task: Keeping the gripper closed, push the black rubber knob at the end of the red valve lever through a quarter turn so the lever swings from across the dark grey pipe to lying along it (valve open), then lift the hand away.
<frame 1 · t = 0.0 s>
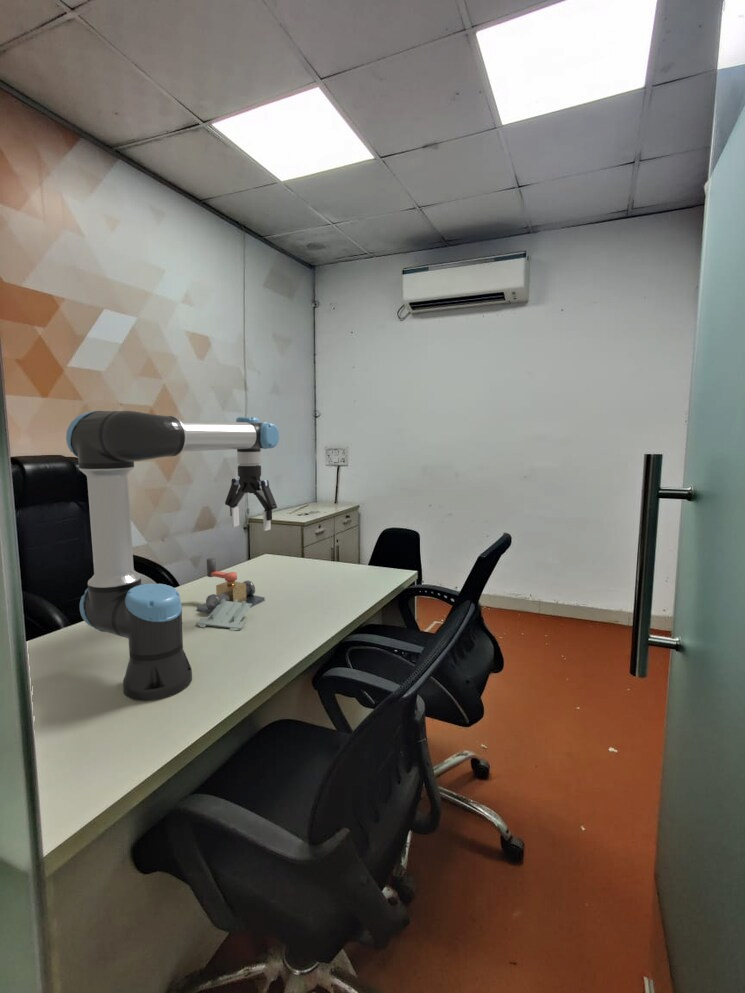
hand: (251, 528, 161), 28 cm above the table, fingers open, 13 cm apart
lever: (221, 569, 168), point 12 cm above the table, hinge at 0.0°
metal bracket: (228, 620, 155), on the table, touching valve
valve: (231, 605, 168), on the table
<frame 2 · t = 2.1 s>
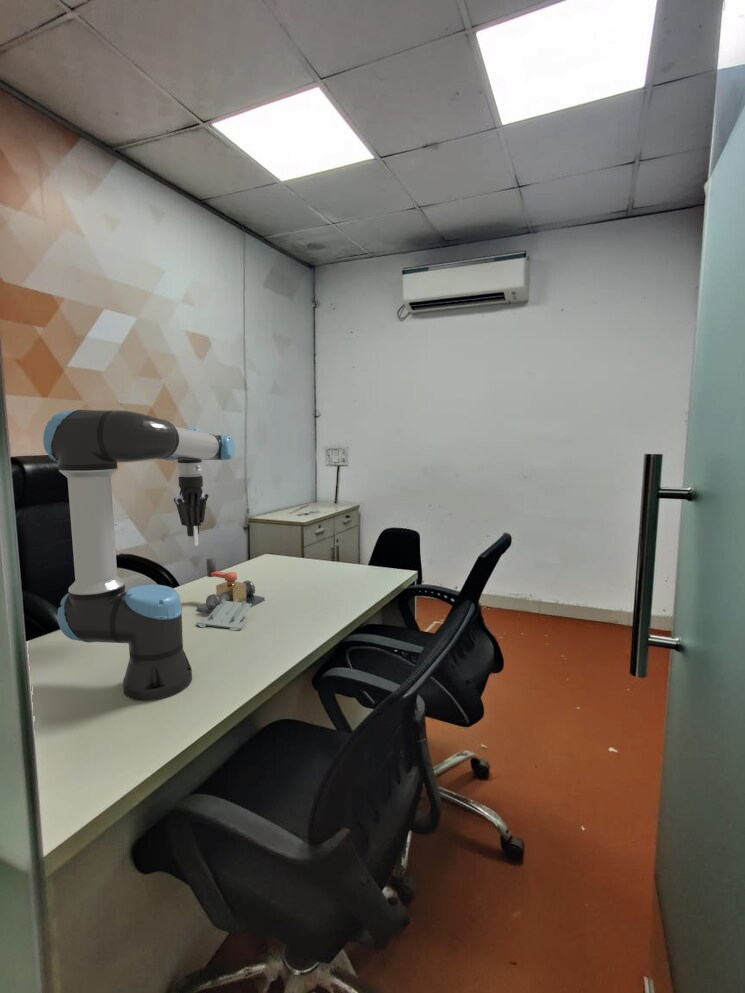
hand: (193, 544, 163), 22 cm above the table, fingers closed
nothing on the table moved.
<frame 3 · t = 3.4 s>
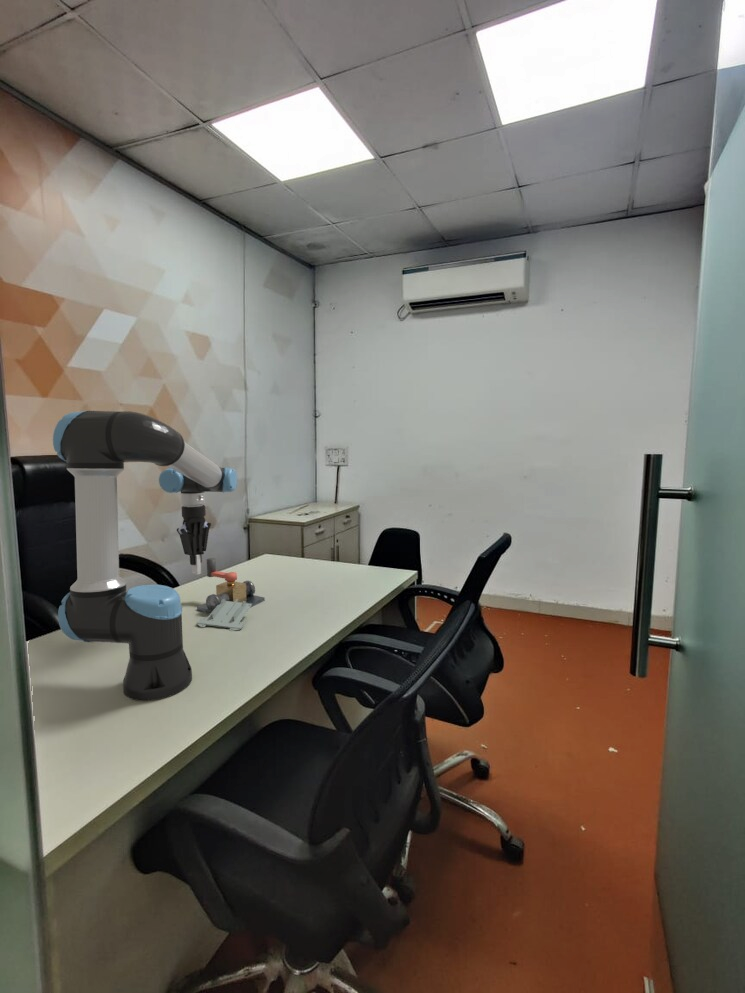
hand: (196, 573, 164), 12 cm above the table, fingers closed
nothing on the table moved.
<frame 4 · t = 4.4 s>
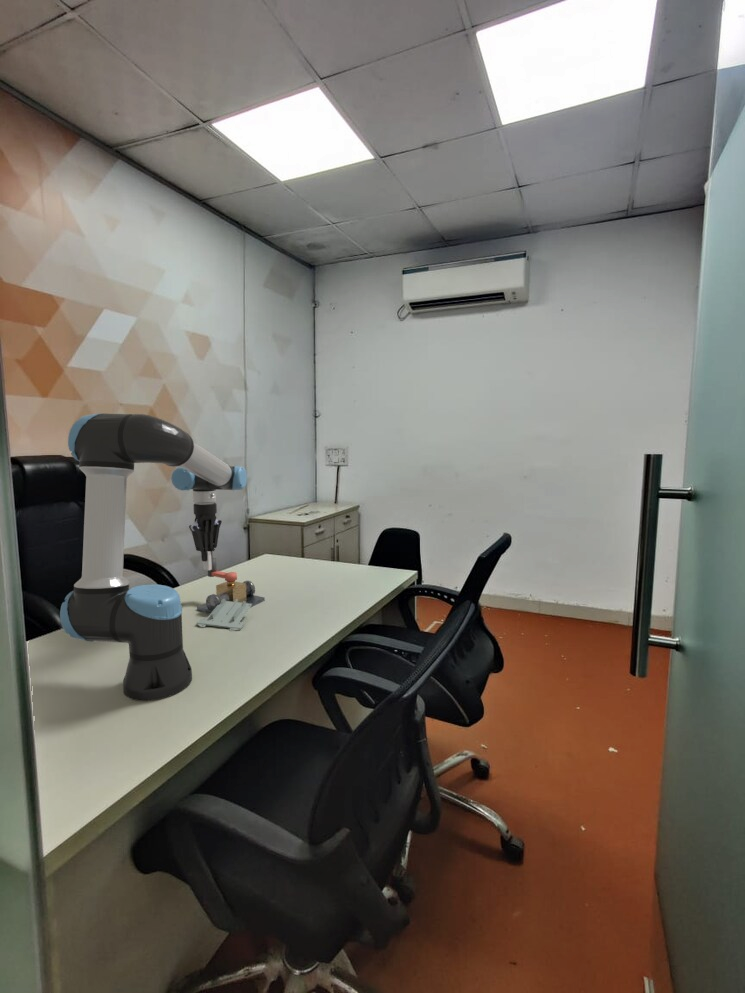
hand: (207, 569, 169), 12 cm above the table, fingers closed
lever: (221, 569, 168), point 12 cm above the table, hinge at 1.9°, touching gripper
everything else where it was.
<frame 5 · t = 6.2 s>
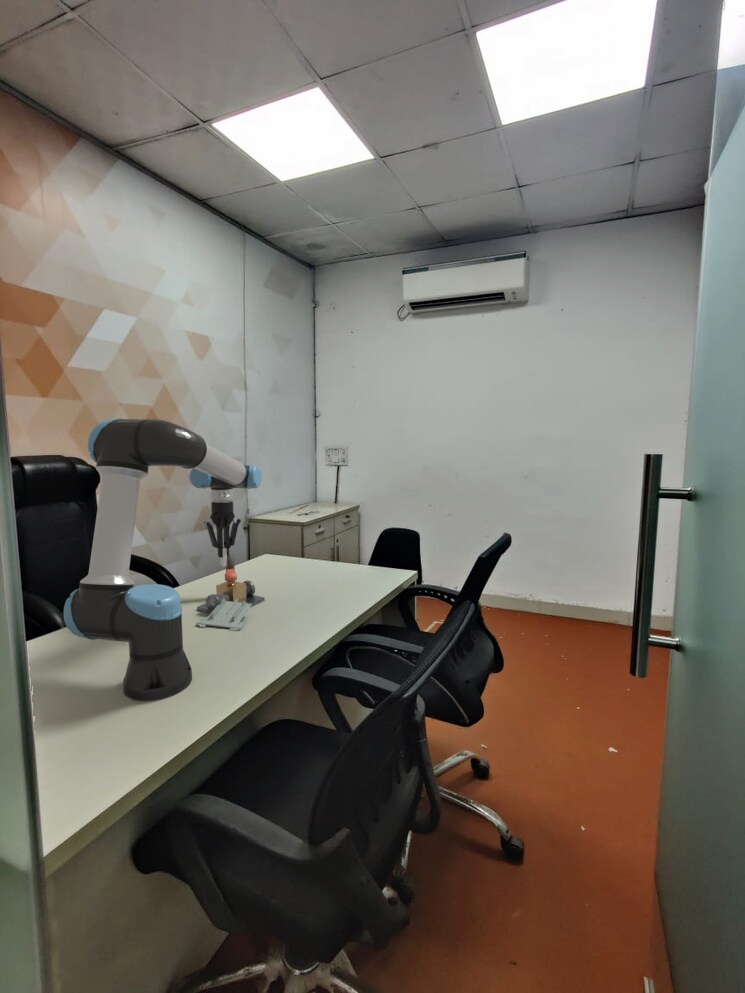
hand: (223, 565, 174), 12 cm above the table, fingers closed
lever: (230, 567, 170), point 12 cm above the table, hinge at 45.4°, touching gripper
everything else where it was.
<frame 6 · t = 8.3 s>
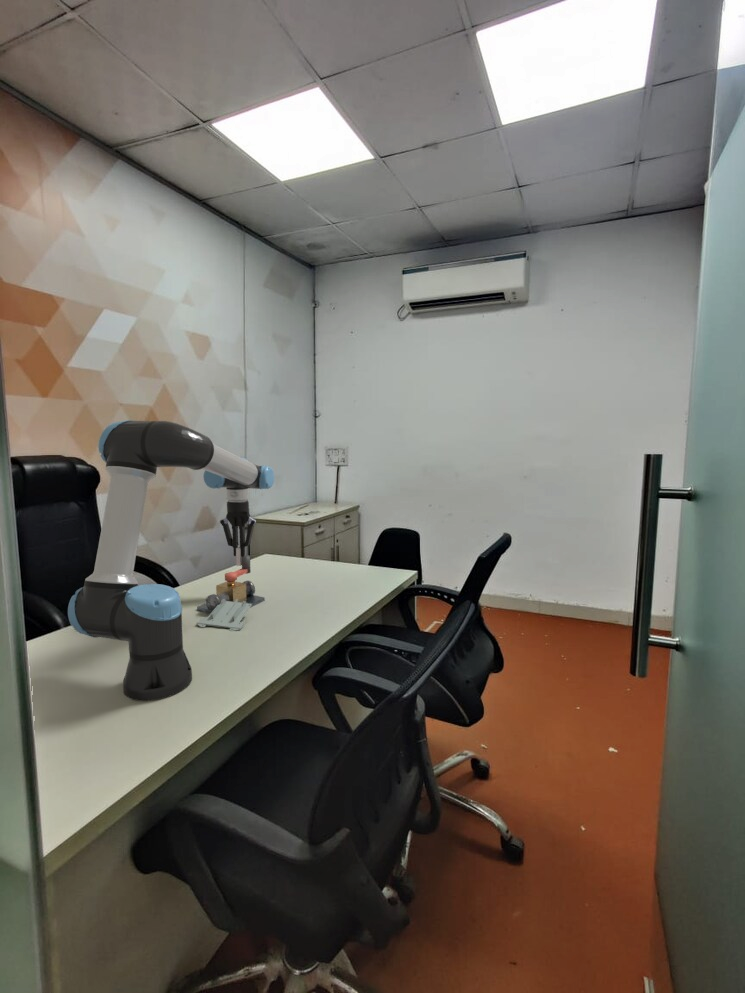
hand: (239, 564, 175), 12 cm above the table, fingers closed
lever: (238, 567, 170), point 12 cm above the table, hinge at 83.1°
everything else where it was.
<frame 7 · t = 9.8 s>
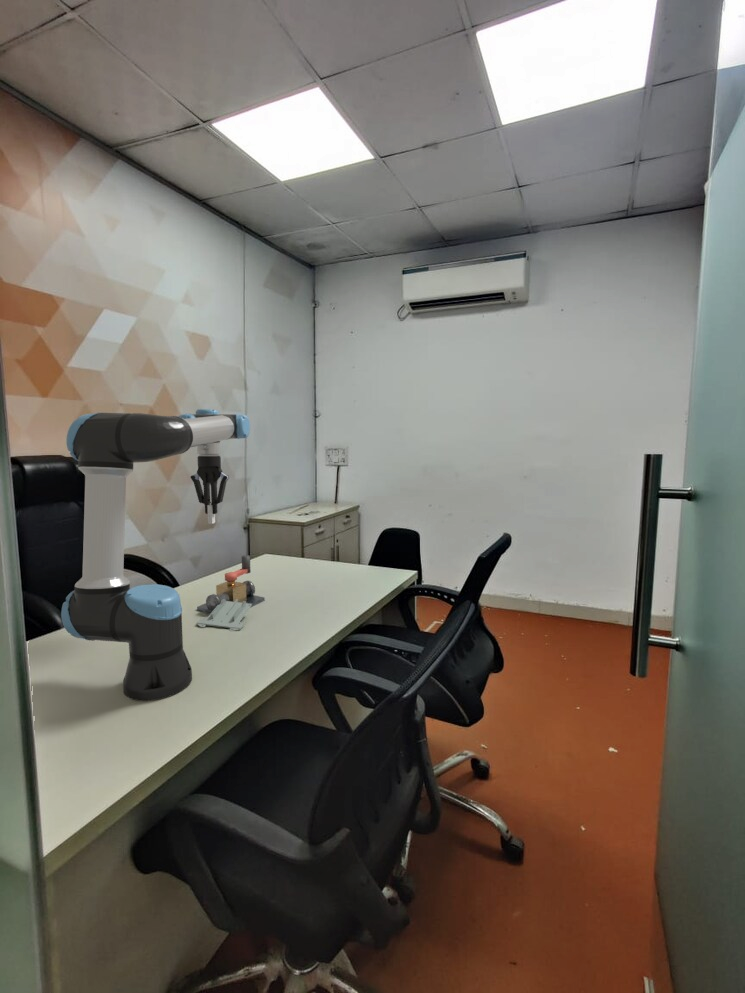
hand: (211, 523, 168), 28 cm above the table, fingers closed
nothing on the table moved.
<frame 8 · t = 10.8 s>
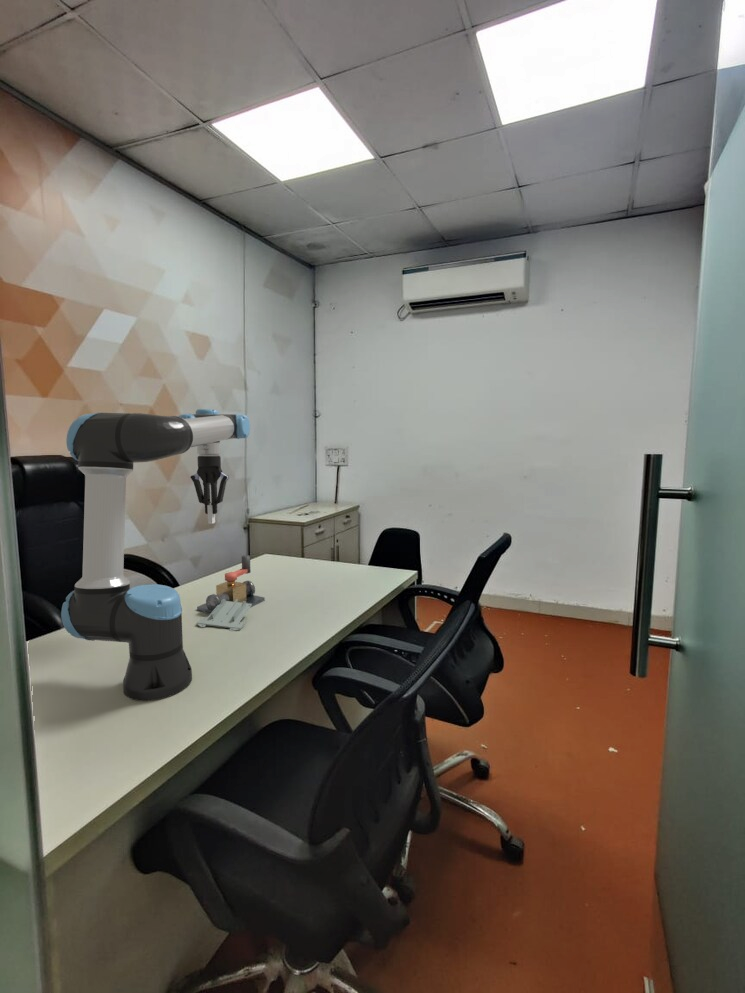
hand: (211, 523, 168), 28 cm above the table, fingers closed
nothing on the table moved.
at the end: lever at +83° (first picture: +0°) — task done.
